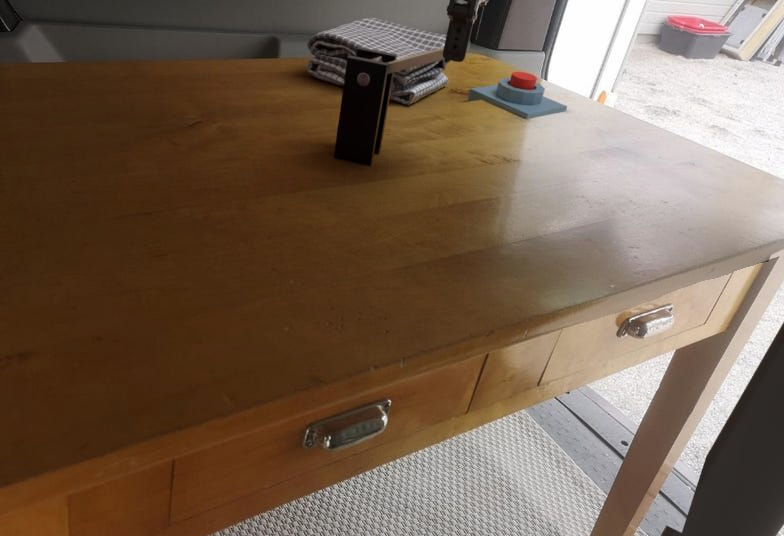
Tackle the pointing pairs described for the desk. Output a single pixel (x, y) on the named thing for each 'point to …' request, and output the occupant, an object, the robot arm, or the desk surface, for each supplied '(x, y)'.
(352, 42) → the towel
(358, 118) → the switch bracket
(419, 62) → the lever
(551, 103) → the control block
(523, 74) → the button
